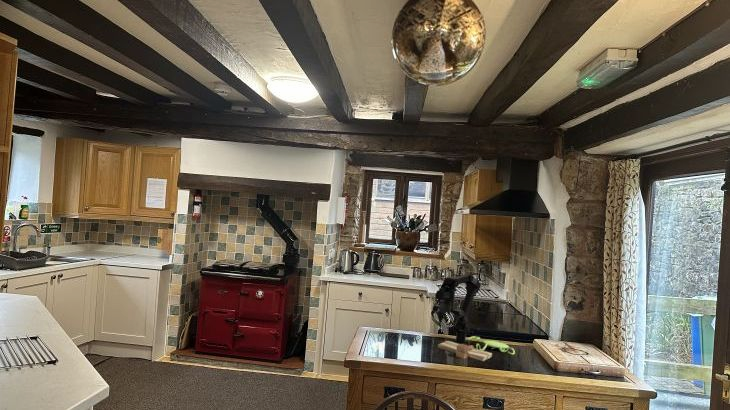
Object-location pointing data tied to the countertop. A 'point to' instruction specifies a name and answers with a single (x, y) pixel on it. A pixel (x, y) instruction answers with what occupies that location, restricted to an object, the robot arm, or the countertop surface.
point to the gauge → (463, 350)
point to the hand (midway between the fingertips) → (446, 324)
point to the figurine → (493, 345)
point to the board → (472, 352)
